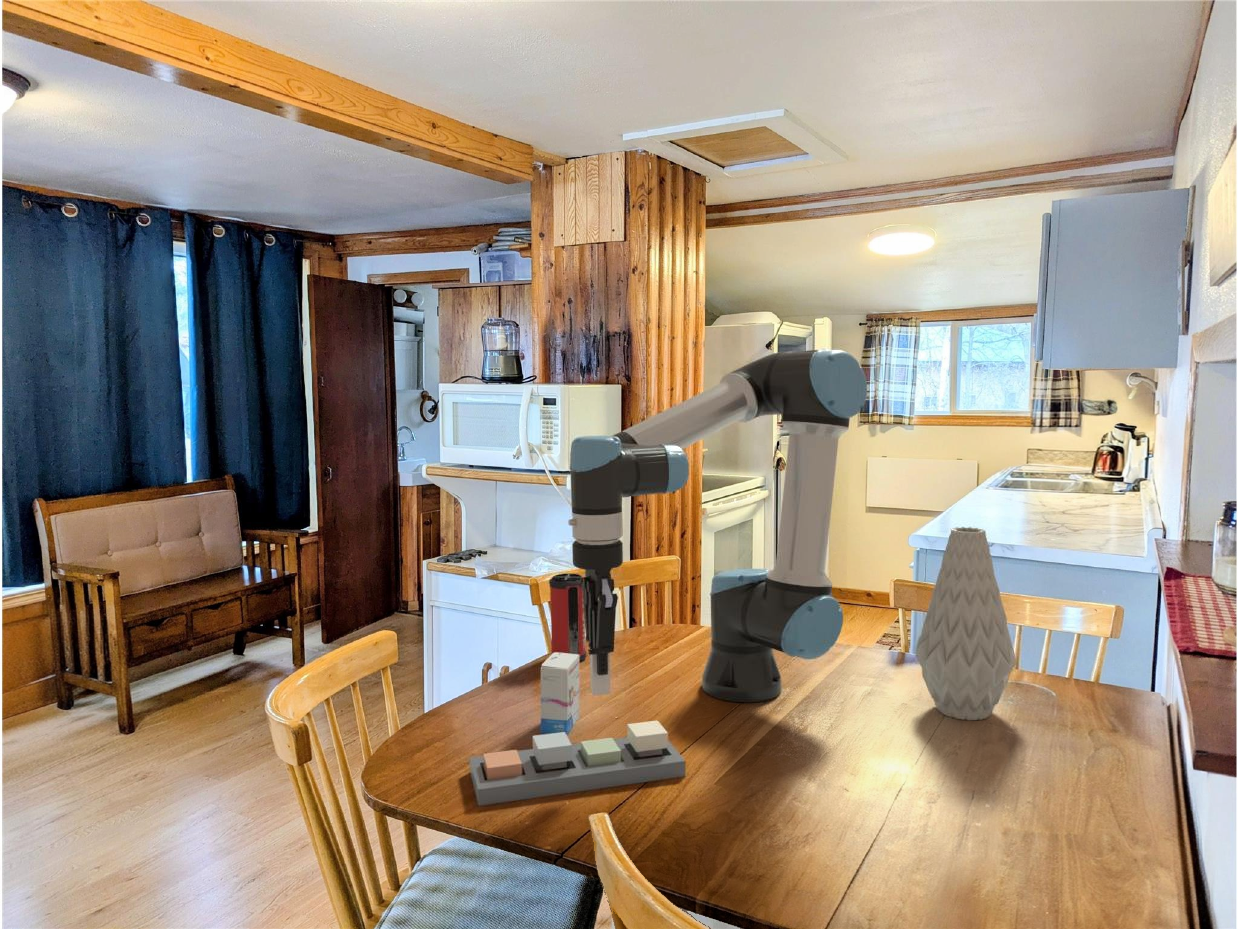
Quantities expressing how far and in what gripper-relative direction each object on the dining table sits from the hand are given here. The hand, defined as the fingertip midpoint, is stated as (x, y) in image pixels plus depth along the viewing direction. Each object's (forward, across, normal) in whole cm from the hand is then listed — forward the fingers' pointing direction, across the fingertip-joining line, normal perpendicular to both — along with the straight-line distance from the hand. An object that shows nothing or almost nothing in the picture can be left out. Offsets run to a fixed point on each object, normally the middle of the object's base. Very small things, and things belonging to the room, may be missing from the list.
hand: (600, 692), depth 131 cm
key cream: (+10, 0, +7) cm, 12 cm away
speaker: (+13, -54, +7) cm, 56 cm away
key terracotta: (+12, 0, -15) cm, 19 cm away
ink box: (+13, -19, -2) cm, 23 cm away
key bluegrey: (+10, 0, -8) cm, 13 cm away
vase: (+13, -4, +68) cm, 69 cm away
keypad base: (+12, 0, -4) cm, 13 cm away
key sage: (+12, 0, 0) cm, 12 cm away
